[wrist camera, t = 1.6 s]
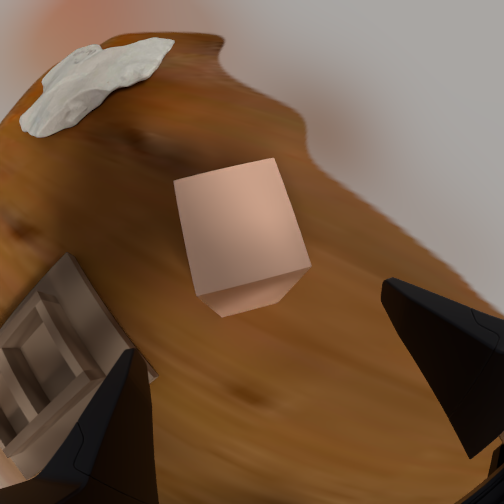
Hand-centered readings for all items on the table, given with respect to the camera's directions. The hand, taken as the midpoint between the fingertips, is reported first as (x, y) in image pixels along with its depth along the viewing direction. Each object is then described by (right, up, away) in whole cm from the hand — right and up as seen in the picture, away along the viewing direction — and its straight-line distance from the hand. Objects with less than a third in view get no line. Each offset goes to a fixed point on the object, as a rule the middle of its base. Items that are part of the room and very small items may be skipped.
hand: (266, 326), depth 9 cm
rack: (-18, -9, +8) cm, 22 cm away
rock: (-20, +20, +17) cm, 34 cm away
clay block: (-1, 0, +11) cm, 11 cm away
